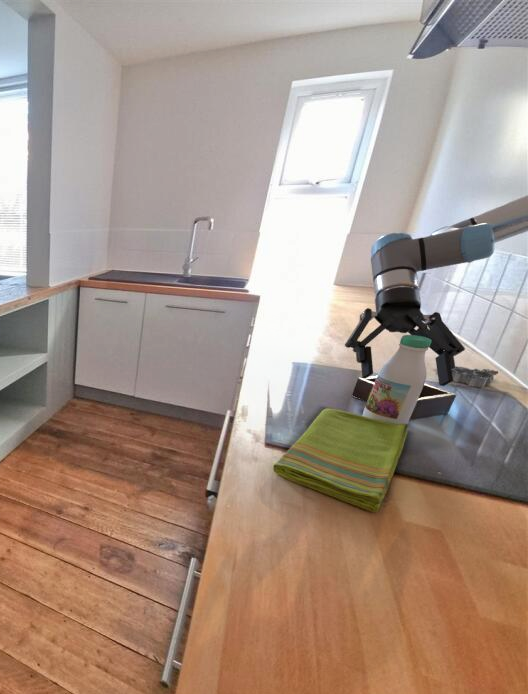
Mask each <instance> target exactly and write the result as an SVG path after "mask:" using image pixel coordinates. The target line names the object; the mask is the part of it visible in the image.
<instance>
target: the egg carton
mask: <svg viewBox="0 0 528 694" xmlns="http://www.w3.org/2000/svg"><path fill="white" fill-rule="evenodd" d="M498 374H499V371H498V370H494V369H489V368H487V369H486V368H483V369H479V368H468V367H465V366H456V365H455V368H453V369H452V376H453V381H452V382H456V383H463V384H467V385H468V386H469V387H472V388H473V387H475V388H479V389H480V388H484V387H485V386H487V387H490V386H491V384H492V382H493V380H494V378H495V376H497V375H498ZM435 375H436V376H438V373H437V371H436V372H435Z"/></svg>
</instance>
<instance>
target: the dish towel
mask: <svg viewBox="0 0 528 694" xmlns="http://www.w3.org/2000/svg"><path fill="white" fill-rule="evenodd" d="M408 426H409V423H407V424H394V423H390V422H385V421H380V420H375V419H371V418H367V417H364V416H362V415H359V414H356V413H352V412H347V411H344V410H340V409H335V408H329V407H327V408H324V409H323V410H321V412H320V413H319V414H318V415H317V416H316V418H315V419H314V420H313V422H311V424H310V425H309V426H308V428H307V429H306V430H305V432H303V434H302V435H300V436H299V438H298V439H297V440H296V441H295V442H294V443H293V445H292V446H290V447H289V449H287V450H286V452H285V453H284V454H283V455H282V456H281V457H280V458H279V459H278V460H277V462H275V463H273V467H272V468H273V469H272V470H273V472H274V473H275V474H276V475H277V476H279V477H282V478H284V479H285V480H288V481H290V482H292V483H295V484H299V485H302V486H303V487H306V488H309V489H311V490H314V491H317V492H318V493H322V494H324V495H327V496H329V497H332V498H334V499H337V500H339V501H342V502H345V503H348V504H350V505H352V506H356V507H358V508H361V509H364V510H366V511H368V512H371V513H378V512H379V510H380V508H381V506H382V503H383V501H384V499H385V497H386V494H387V492H388V489H389V486H390V483H391V480H392V478H393V477H394V474H395V471H396V467H397V466H398V464H399V459H400V457H401V455H402V451H403V450H404V446H405V442H406V439H407V435H408V433H409V430H408Z"/></svg>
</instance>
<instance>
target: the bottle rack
mask: <svg viewBox="0 0 528 694" xmlns="http://www.w3.org/2000/svg"><path fill="white" fill-rule="evenodd" d="M376 378H377V375H373V376H372V375H371V376H369V377H368V378H362V377H358V378H356V379H357V380H356V382H355V385H354V388H353V389H352V393H351V396H352V395H353V396H355V397H357V398H360V399H362V400H364V401H366V402H365V403H367V401H368V398H369V396H370V393H371V390H372V388H373V385H374V383H375V380H376ZM355 397H354V398H355ZM456 397H457V394H456V393H453V392H451V391H448V390H446V389H442V388H439V387H437V386H436V387H435V386H433V385H430V384H427V383H424V386H423V388H422V391H421V393H420V396H419V398H418V400H417V403H416V405H415V407H414V410H413V412H412V414H411V417H410V419H409V421H411V419H412V420H418V419H423V418H429V417H436V416H441V415H448V414H449V413H450V410H451V408H452V406H453V403H454V402H455V399H456ZM357 398H356V399H357ZM360 399H359V400H360ZM362 400H361V401H362ZM364 401H363V402H364Z"/></svg>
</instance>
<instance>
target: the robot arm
mask: <svg viewBox="0 0 528 694" xmlns="http://www.w3.org/2000/svg"><path fill="white" fill-rule="evenodd" d="M527 232H528V194H526V195H523V196H522V197H521V196H520V197H519V198H516V199H513V200H512V201H508V202H506V203H503V204H501V205H499V206H496V207H494V208H491V209H489V210H487V211H484V212H482V213H481V212H480V213H479V214H475V215H474V216H472V217H470V218H467V219H464V220H462V221H458V222H456V223H453V224H451V225H449V226H444V227H441V228H438V229H436V230H435V231H433V232H432V233H430V234H429V235H428V236H423V237H416V238H412V236H411V235H410V234H409V233H407V232H391V233H388V234H384V235H383V236H381V237H379V238H378V239H376V240H375V241H374V242H373V243H372V245H371V247H370V264H371V266H370V267H371V274H372V281H373V282H372V283H373V294H374V305H375V311H373V310H372V309H371V308H369V307H368V308H365V309H364V310H363V311H362V313H360V314H359V319H358V320H359V321H358V323H357V325H356V327H354V330H353V331H352V333H351V334H350V336H349V337H348V339H347V340H346V341H345V344H344V347H345V348H351V349H352V351H353V353H355V358H356V362H357V364H358V363H359V364H360V365H361V367H360V368H361V378H368V377H372V375H373V374H374V368H373V366H374V365H373V354H372V346H369V345H368V344H369V343H370V342H372V341H373V340H374V339H375V338H376V337H377V336H379V335H380V334H381V333H383V331H384V330H386V331H388V332H389V333H401V334H407V333H408V335H416V336H422V337H426V338H429V339H431V344H430V346H429V347H428V349H430V350H432V351H433V352H434V353H435V354H436V355H438V356H436V357H435V365H436V372H437V373H438V375H437V378H438V379H437V381H438V386H439V387H445V386H446V385H448V384H450V383H453V382H454V381H453V376H452V369H453V368H455V366H456V363H455V357H457V355H459V354H461V353H462V352H464V351H465V350H466V348H465V346H464V345H463V344H462V342H460V340H459V339H458V338H457V336H456V335H455V334H454V333H453V332H452V331H451V330H450V329H449V327H448V326H447V325H446V324H445V322H444V321H443V319H442V316H441V313H440V312H438V311H435V312H433V313H431V314H424V313H423V312H422V311H421V308H422V301H421V295H420V294H421V293H420V286H419V279H418V273H417V272H424V271H427V270H432V269H438V268H439V269H440V268H443V267H449V266H455V265H461V264H466V263H468V264H470V263H473V262H476V261H480V260H484V259H488V258H490V257H492V255H493V254H494V252H495V244H496V243H498V242H502V241H504V240H507V239H509V238H513V237H515V236H518V235H522V234H524V233H527ZM373 319H375V321H377V323H379V326H378V327H376V328H375V329H374V330H373V331H372V332H370V333H369V334H368V335H367V336H366V337H364V338H363V339H362V340H361V341H360V340H359V338H360V337H361V335H362V334H363V333H364V330H365V329H366V328H367V326H368V324H369V323H370V321H372V320H373ZM416 327H417V329H416Z"/></svg>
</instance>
